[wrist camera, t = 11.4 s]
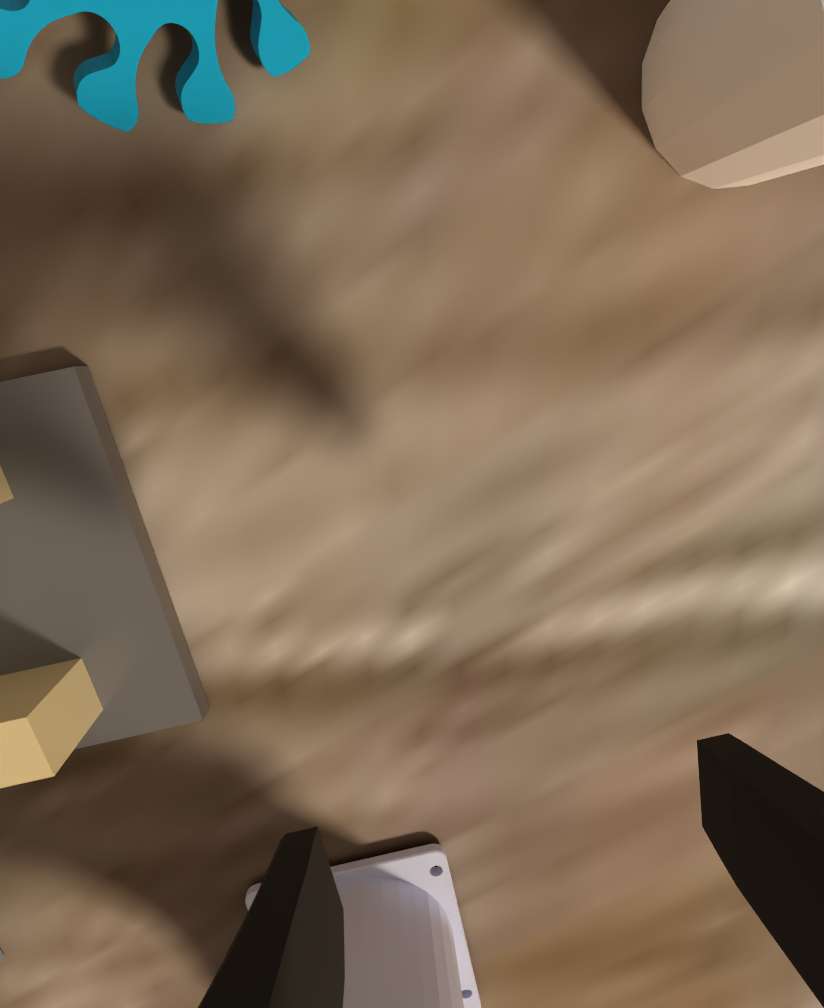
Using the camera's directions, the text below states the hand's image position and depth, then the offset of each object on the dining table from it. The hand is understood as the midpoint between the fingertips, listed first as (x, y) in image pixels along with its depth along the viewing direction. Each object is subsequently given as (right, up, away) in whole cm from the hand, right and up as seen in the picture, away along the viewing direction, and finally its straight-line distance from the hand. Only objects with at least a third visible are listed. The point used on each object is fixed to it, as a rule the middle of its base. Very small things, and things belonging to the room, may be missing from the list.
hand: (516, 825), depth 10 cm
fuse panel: (-15, +3, +8) cm, 17 cm away
